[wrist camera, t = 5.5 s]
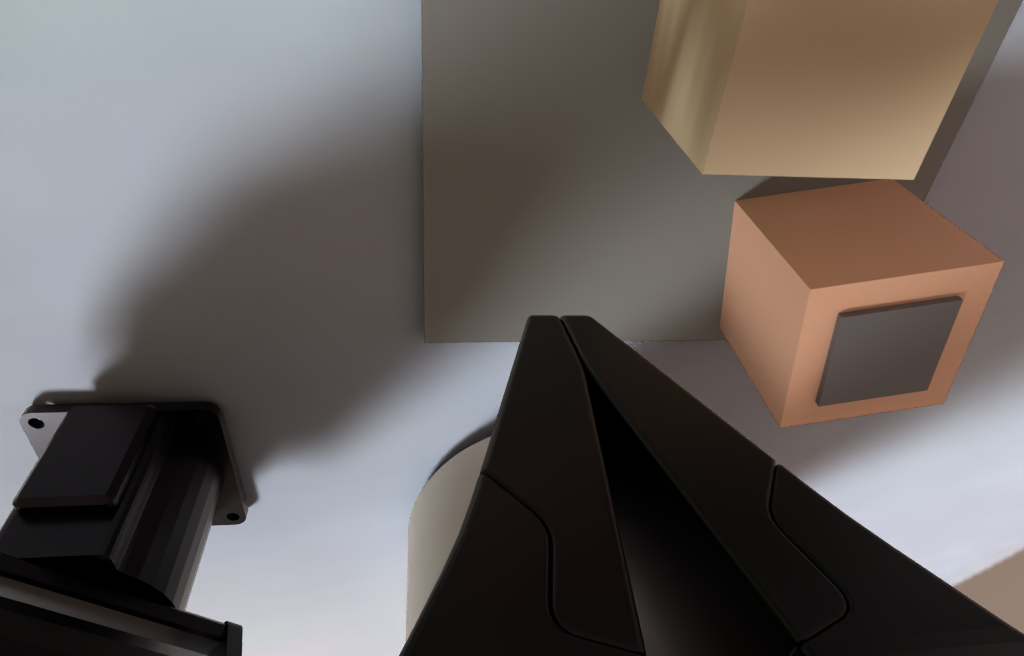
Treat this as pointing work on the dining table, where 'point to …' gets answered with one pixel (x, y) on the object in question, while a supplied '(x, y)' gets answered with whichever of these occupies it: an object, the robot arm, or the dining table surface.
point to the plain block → (809, 82)
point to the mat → (583, 174)
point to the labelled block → (851, 300)
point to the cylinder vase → (438, 524)
